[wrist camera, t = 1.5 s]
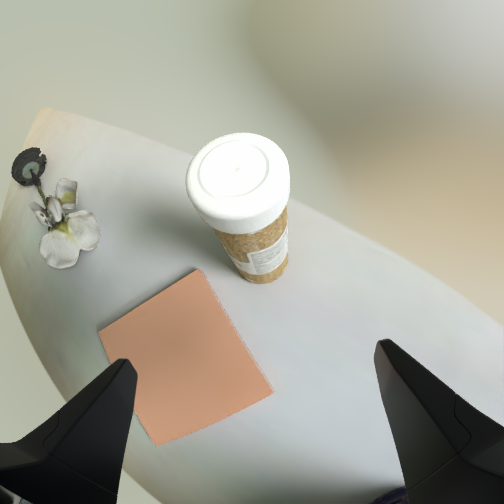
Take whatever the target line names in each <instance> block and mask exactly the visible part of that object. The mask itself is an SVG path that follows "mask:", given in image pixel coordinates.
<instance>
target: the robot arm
mask: <svg viewBox="0 0 504 504" xmlns="http://www.w3.org/2000/svg"><path fill="white" fill-rule="evenodd" d="M374 364H375V368H376V373H377V378H378V383H379V388H380V393H381V398H382V401H383V405H384V408H385V411H386V414H387V418H388V421H389V424H390V428H391V431H392V435H393V438H394V442H395V445H396V449H397V453H398V457H399V461H400V465H401V469H402V473H403V477H404V481H405V486H406V490H407V495H408V500H409V504H504V427H503V426H502V425H500V424H498V423H497V422H495V421H494V420H492V419H491V418H489V417H488V416H486V415H484V414H483V413H482V412H480V411H479V410H477V409H476V408H474V407H473V406H472V405H470V404H469V403H468V402H467V401H465V400H464V399H463V398H462V397H460V396H459V395H458V394H455V392H454V391H453V390H452V389H451V388H449V387H448V386H447V385H446V384H445V383H443V382H442V381H441V380H440V379H438V378H437V377H436V376H435V375H434V374H432V373H431V372H430V371H429V370H427V369H426V368H425V367H424V366H423V365H421V364H420V363H419V362H418V361H416V360H415V359H414V358H413V357H411V356H410V355H409V354H408V353H407V352H405V351H404V350H403V349H402V348H400V347H399V346H398V345H397V344H395V343H394V342H393V341H392V340H390V339H383V340H379V341H378V342H377V345H376V349H375V354H374ZM137 380H138V374H137V371H136V370H135V368H134V367H133V365H132V363H131V362H130V360H129V359H126V358H119V359H117V360H116V361H115V362H114V363H112V364H111V365H110V366H109V367H108V368H107V369H105V370H104V371H103V372H102V373H101V374H100V375H98V376H97V377H96V378H95V379H94V380H93V381H92V382H90V383H89V384H88V385H87V386H86V387H85V388H83V389H82V390H81V391H80V392H79V393H78V394H77V395H75V396H74V397H73V398H72V399H71V400H70V401H69V402H67V403H66V404H65V405H64V406H63V407H62V408H61V409H60V410H58V411H57V412H56V413H55V414H54V415H52V416H51V417H50V418H49V419H48V420H46V421H45V422H44V423H43V424H41V425H40V426H39V427H37V428H36V429H34V430H33V431H32V432H30V433H29V434H27V435H26V436H25V437H23V438H22V439H21V440H18V441H16V442H12V443H0V504H116V503H117V494H118V488H119V481H120V474H121V469H122V464H123V458H124V453H125V448H126V443H127V438H128V433H129V428H130V424H131V419H132V415H133V410H134V403H135V395H136V387H137Z"/></svg>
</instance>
